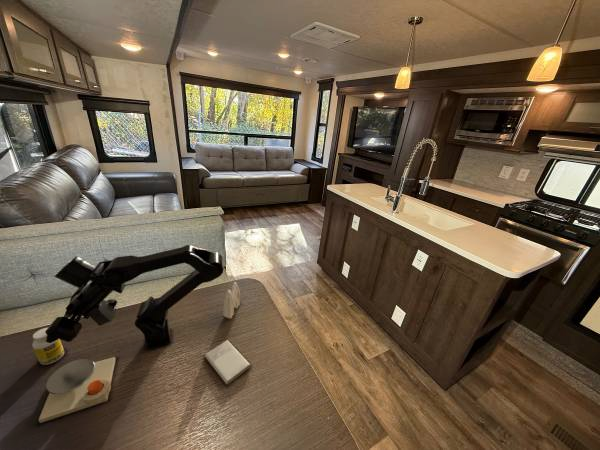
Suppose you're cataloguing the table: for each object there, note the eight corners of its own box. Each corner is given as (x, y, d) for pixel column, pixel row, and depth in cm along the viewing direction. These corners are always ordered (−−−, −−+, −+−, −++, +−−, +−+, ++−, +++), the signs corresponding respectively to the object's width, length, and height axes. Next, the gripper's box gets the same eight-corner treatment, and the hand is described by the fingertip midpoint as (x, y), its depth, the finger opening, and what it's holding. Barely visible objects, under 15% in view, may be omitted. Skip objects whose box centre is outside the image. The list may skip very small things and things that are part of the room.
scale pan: (98, 355, 72) (98, 354, 72) (90, 385, 64) (89, 384, 64) (55, 367, 68) (54, 365, 68) (40, 400, 60) (39, 399, 60)
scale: (118, 358, 75) (116, 351, 74) (109, 402, 64) (107, 394, 63) (59, 375, 69) (56, 367, 68) (38, 425, 58) (34, 418, 57)
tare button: (103, 382, 66) (102, 378, 65) (101, 392, 63) (99, 388, 63) (90, 386, 64) (88, 382, 64) (87, 396, 62) (85, 392, 61)
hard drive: (226, 385, 70) (205, 357, 78) (250, 367, 76) (227, 342, 83) (226, 381, 70) (204, 353, 77) (250, 363, 75) (227, 339, 83)
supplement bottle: (50, 367, 71) (38, 342, 67) (34, 363, 71) (22, 338, 68) (69, 351, 75) (60, 327, 72) (55, 347, 76) (45, 323, 72)
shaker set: (231, 322, 92) (230, 298, 87) (220, 320, 92) (219, 297, 88) (241, 301, 103) (241, 279, 98) (232, 299, 103) (231, 277, 99)
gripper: (111, 329, 66) (71, 367, 67) (131, 286, 82) (98, 317, 83) (66, 311, 60) (23, 352, 61) (97, 269, 76) (62, 302, 77)
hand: (57, 329), depth 71 cm, fingers open, 9 cm apart
